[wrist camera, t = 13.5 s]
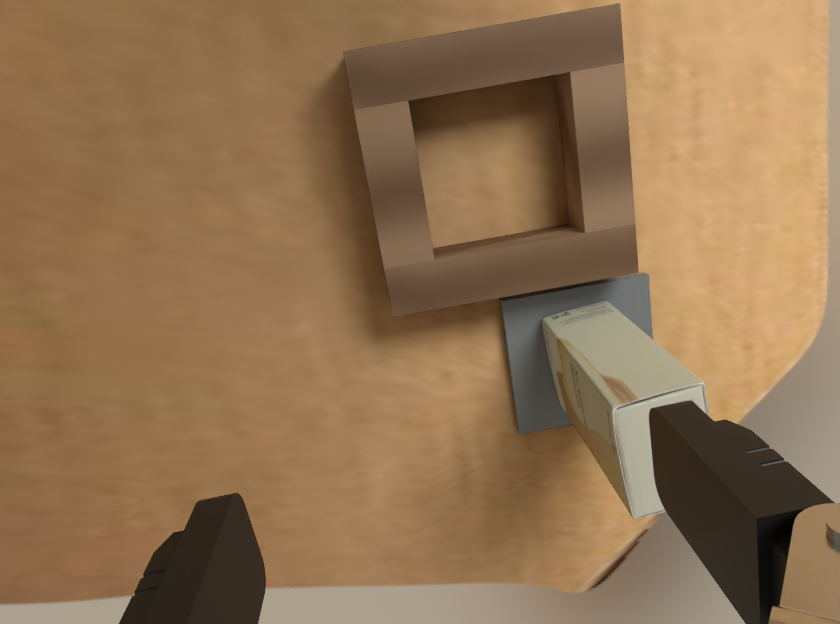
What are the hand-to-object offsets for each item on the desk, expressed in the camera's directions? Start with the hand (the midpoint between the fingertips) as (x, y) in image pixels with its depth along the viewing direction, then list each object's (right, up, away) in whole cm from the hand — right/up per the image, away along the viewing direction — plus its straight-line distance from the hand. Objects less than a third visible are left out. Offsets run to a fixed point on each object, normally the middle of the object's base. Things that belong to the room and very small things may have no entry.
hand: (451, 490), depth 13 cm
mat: (+9, +1, +28) cm, 30 cm away
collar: (+3, +12, +25) cm, 28 cm away
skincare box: (+10, +1, +28) cm, 30 cm away
